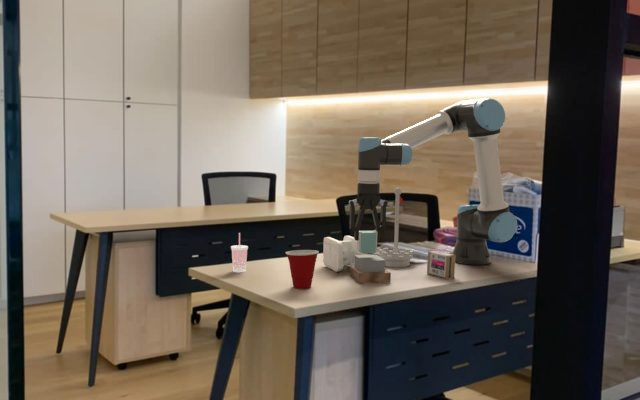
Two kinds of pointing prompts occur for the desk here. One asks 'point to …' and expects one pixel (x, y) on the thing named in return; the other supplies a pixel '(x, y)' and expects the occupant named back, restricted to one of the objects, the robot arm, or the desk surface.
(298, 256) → the plastic cup
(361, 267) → the grey slab
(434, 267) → the ink box
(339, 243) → the cable organizer
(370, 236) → the teal block
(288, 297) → the desk surface
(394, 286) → the desk surface
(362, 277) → the walnut slab
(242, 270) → the beverage cup
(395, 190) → the flag stand
